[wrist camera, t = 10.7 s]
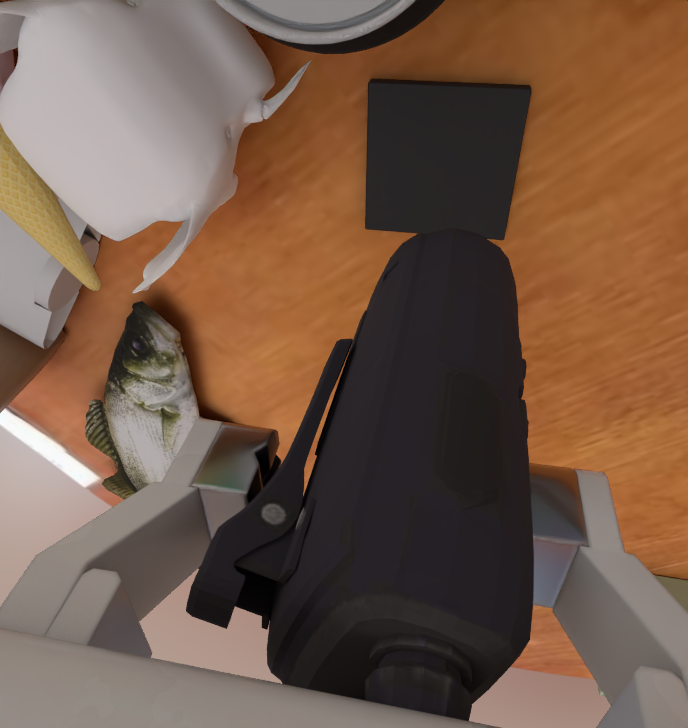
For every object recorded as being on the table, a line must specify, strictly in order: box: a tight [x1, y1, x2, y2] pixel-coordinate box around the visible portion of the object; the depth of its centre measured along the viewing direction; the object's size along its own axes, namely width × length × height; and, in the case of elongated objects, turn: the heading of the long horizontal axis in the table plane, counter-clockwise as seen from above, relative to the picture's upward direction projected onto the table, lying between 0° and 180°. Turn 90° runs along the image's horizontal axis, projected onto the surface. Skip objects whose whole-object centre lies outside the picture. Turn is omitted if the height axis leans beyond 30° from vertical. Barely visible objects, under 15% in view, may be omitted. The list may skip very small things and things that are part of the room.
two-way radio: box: [186, 228, 534, 721], centre depth 10 cm, size 6×4×15 cm
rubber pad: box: [365, 79, 532, 240], centre depth 23 cm, size 6×6×1 cm
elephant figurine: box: [0, 0, 312, 294], centre depth 20 cm, size 10×12×9 cm
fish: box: [85, 301, 209, 569], centre depth 38 cm, size 26×3×10 cm
